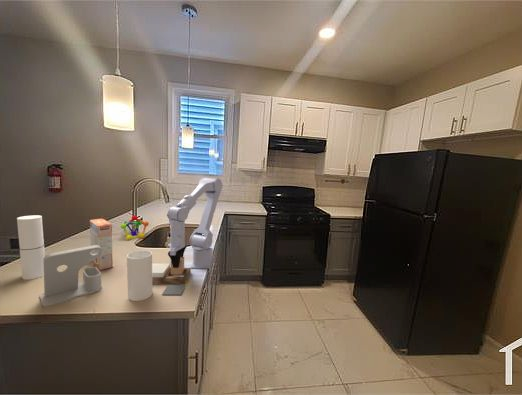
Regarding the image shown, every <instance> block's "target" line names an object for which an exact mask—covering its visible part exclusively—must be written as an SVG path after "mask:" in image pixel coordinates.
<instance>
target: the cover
mask: <svg viewBox="0 0 522 395" xmlns="http://www.w3.org/2000/svg"><path fill="white" fill-rule="evenodd" d="M170 267H171V263H162V262H161V263H154V262H152V277H164V276H165V274H166V273H167V272H168V270H169V269H170Z"/></svg>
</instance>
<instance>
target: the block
mask: <svg viewBox="0 0 522 395" xmlns="http://www.w3.org/2000/svg"><path fill="white" fill-rule="evenodd" d="M170 267H171V275H183V274H182V273H183V271H184V268H185V256H183V257H181V258H180V263H179V267H178V268H173V265H172V261H171V260H170Z"/></svg>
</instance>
